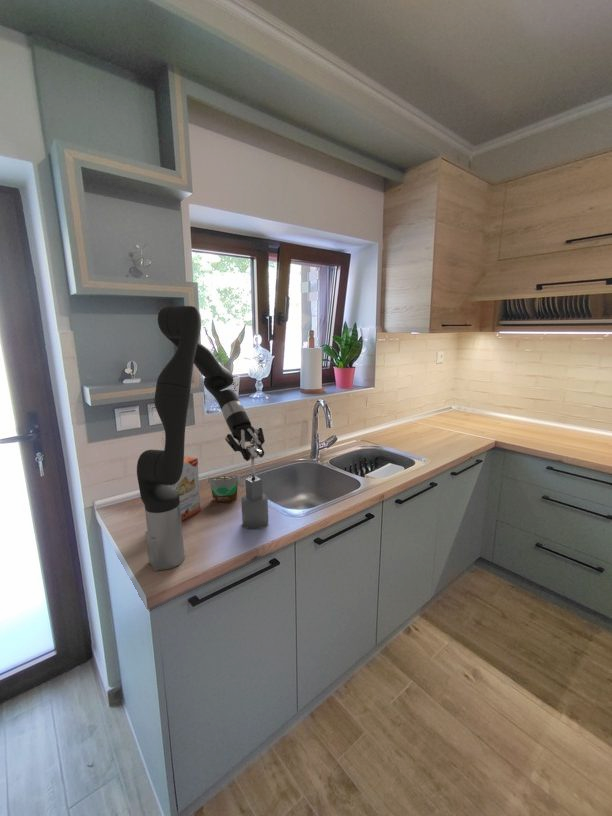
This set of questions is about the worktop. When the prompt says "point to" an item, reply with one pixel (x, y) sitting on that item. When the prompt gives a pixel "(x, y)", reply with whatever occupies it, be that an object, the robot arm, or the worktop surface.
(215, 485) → the food container
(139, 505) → the worktop surface
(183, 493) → the cracker box
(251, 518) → the soap bottle
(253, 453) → the pump head
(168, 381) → the robot arm
